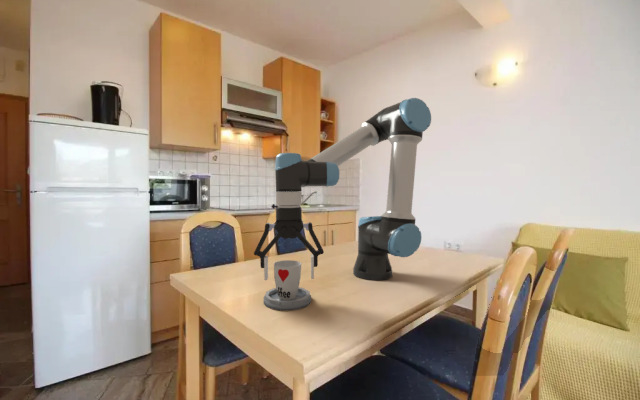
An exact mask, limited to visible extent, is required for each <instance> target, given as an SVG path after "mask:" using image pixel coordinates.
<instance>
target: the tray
mask: <svg viewBox="0 0 640 400" xmlns="http://www.w3.org/2000/svg"><path fill="white" fill-rule="evenodd" d="M310 293H311V292H310V291H309V290H308V289H306V288H305V287H304V288H303V287H300V286H299V288H298V292H297V295H296V298H294V299H292V300H282V299H279V297H278V294H277V290H276V287H273V288H271V289H269V290H267V291H266V292H265V294H264V296H263V305H264V306H265V307H266V308H268V309H272V310H276V311H282V312H283V311H287V312H288V311H297V310H301V309H303V308H306V307H309V306H310V305H311V303H312V295H311V294H310Z"/></svg>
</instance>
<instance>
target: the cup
mask: <svg viewBox="0 0 640 400" xmlns="http://www.w3.org/2000/svg"><path fill="white" fill-rule="evenodd" d="M301 273H302V262H301V261H298V260H294V259H293V260H291V259H289V260H287V259H285V260H284V259H283V260H278V261H274V262H273V276H274V283H275V288H276V290H277V294H278V297H279V299H282V300H292V299H294V298H296V295H297V292H298V288H299V287H300V281H301V277H302V276H301V275H302V274H301Z"/></svg>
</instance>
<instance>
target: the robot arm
mask: <svg viewBox="0 0 640 400" xmlns="http://www.w3.org/2000/svg"><path fill="white" fill-rule="evenodd" d="M431 123H432V113H431V109H430V108H429V106H428V105H427V103H425V101H424V100H423V99H420V98H417V97H411V98H408V99H404V100H401V101H400V102H397V103H396V104H395V103H394V104H393V105H389V106H387V107H385V108H382V109H381V110H379V111H378V112H377V113H376V114H373V116H371V117H370V118H368V119H367V120H366V121H365V122H362V123H361V124H360V127H359V128H358V129H357V130H354V131H353V132H351V133H350V134H348V135H347V136H345V137H343V138H342V139H340V140H339V141H337V142H335V143H334V144H332V145H331V146H329V147H327V148H325V149H324V150H322V151H320V152H319V153H317V154H316V155H315V156H312V157H311V158H310V159H307V160H305V161H304V160H303V159H302V155H301V154H300V153H296V152H283V153H282V152H281V153H278V154H276V157H275V165H274V166H275V168H274V172H275V174H274V175H275V205H276V208H275V222H274V223H270V222H267V223H266V224H265V225H264V231H263V233H262V236H261V238H260V239H259V242H258V243H257V245H256V248H255V250H254V251H253V255H254V256H257V257H259V258H260V260H259V261H260V268H261V269H263V270H264V271H263V272H264V274H263V275H264V276H263V277H264V281H267V280H268V278H269V256H268V255H267V254H268V253H269V251H270V250H271V249H272V248H273V247H274V245H275V244H276V243H277V242H278V241H279V240H280V238H282V239H285V240H286V239H296V238H297V239H298V240H299V241H301V243H302V244H303V245H304V246H305V247H306V249H308V251H310V253H311V255H310V278H311V280H314V279H315V268H317V267H318V265H319V264H318V261H319V260H318V259H319V256H320V255H323V254H324V249H323V247H322V245H321V243H320V241H319V239H318V237H317V234H316V233H315V231H314V228H313V224H312V222H311V221H309V222H306V223H303V216H302V214H303V211H302V207H301V205H302V203H303V202H302V199H303V198H302V188H306V187H326V188H327V187H334V186H337V184H338V182H339V180H340V168H339V166H341V165H342V164H344V163H345V162H347V161H348V160H350V159H351V158H353V157H354V156H356V155H358V154H359V153H360V152H362V151H364V150H365V149H367V148H368V147H370V146H371V147H373V146H376V145H378V144H380V143H381V142H384V141H387V140H388V141H389V142H390V143H391V149H390V160H389V161H390V162H389V173H388V187H387V196H386V197H387V199H386V208H385V209H386V210H385V212H383V214H381V215H380V216H378V215H376V216H362V217H360V218H359V220H358V225H357V228H358V229H357V231H358V232H357V233H358V234H357V237H358V238H357V239H358V240H357V242H358V245H357V256H356V260H355V263H354V265H353V268H352V270H353V273H352V274H353V275H354V276H355V277H357V278H360V279H364V280H372V281H383V280H388V279H391V278H392V277H393V267H392V265H391V262H390V258H389V255H391V256H393V257H399V258H408V257H410V256H412V255H413V254H415V253H416V252H417V251H418V249H419V248H420V245H421V242H422V232H421V230H420V228H419V227H418V226H417V225H416V217H415V216H414V214H413V213H412V210H413V197H414V185H415V173H416V161H417V150H418V144H419V143H421V142H422V140H423V134H424V133H425V131H427V130H428V128H430V126H431ZM423 132H424V133H423ZM304 228H305V230H306V231H307V232H309V235H310V236H311V239H312V241H313V242H314V245H315V247H316V248H317V250H316V249H315V248H314V247H313V245H312V244H311V243H310V242H309V241H308V240H307V239H306V237H305V236H304V235H303V234H302V233H301V231H302V230H303V229H304ZM273 229H275V231H276V232H277V234H276V235H275V236H274V237H273V238H272V240H270V242H269V243H268V244H267V245H266V247H265V248H264V249H263V250H262V248H263V245H264V243H265V241H266V239H267V238H268V236H269V233H270V232H272V230H273Z"/></svg>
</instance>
